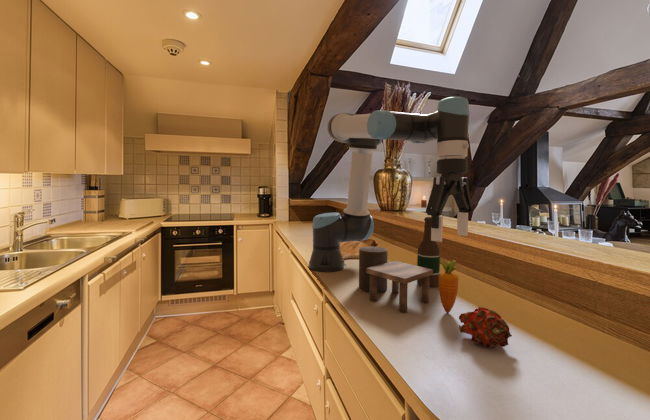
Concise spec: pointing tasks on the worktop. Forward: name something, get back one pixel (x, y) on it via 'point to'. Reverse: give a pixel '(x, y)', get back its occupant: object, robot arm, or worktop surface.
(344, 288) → the worktop surface
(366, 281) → the pillar candle
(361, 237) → the robot arm
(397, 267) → the walnut stool
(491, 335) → the dragon fruit
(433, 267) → the beer bottle
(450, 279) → the carrot
